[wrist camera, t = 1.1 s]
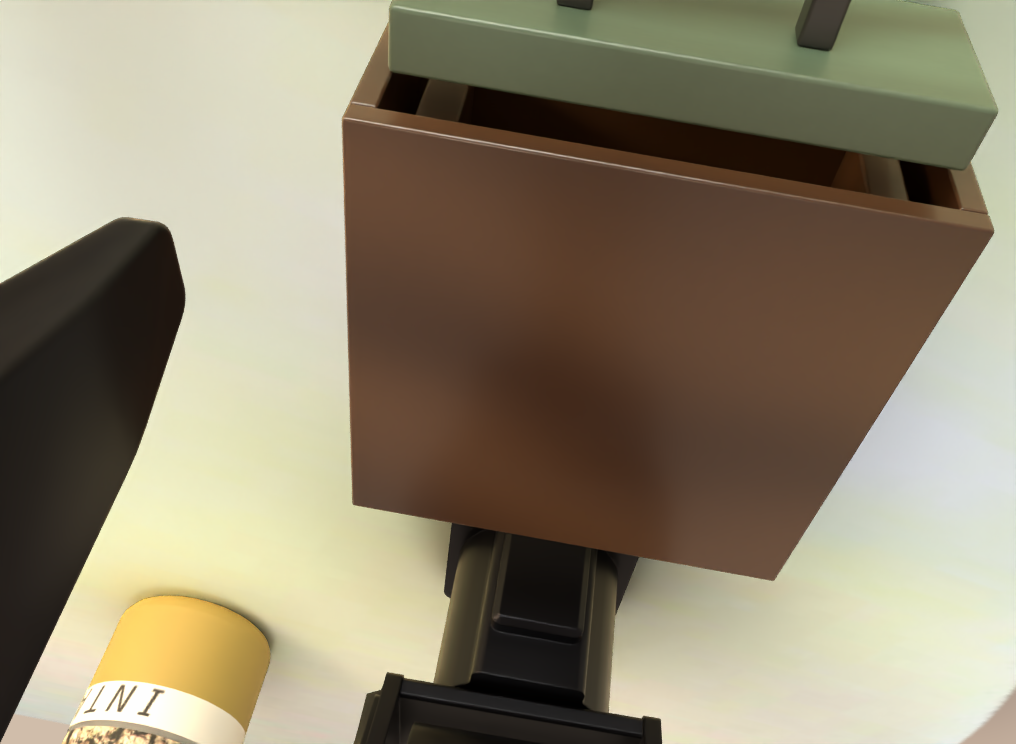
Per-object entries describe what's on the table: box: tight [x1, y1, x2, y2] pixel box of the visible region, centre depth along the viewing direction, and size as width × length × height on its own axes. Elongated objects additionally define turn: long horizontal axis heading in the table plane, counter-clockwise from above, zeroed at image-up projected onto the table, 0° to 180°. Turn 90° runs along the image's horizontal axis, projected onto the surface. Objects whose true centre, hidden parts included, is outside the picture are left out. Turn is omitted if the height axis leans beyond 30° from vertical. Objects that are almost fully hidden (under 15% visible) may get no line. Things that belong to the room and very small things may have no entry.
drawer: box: [388, 0, 998, 201], centre depth 18 cm, size 15×10×4 cm
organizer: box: [342, 22, 994, 581], centre depth 21 cm, size 12×11×5 cm
